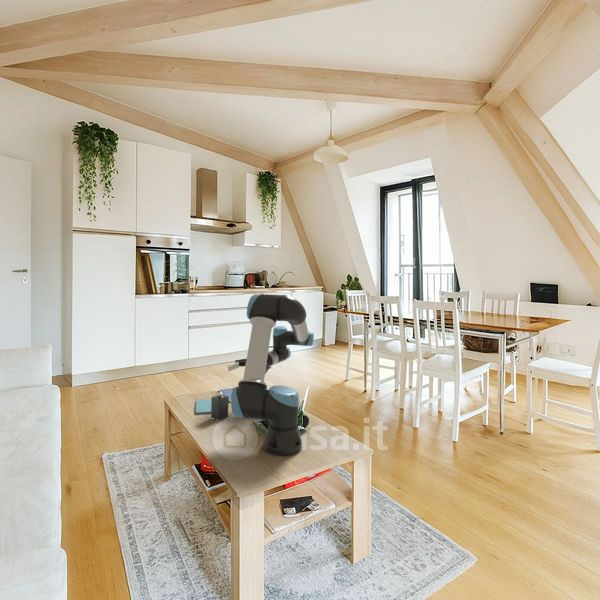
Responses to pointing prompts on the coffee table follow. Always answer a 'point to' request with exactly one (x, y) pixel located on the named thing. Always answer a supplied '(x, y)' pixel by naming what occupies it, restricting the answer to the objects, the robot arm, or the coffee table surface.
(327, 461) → the coffee table surface
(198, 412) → the teal cloth
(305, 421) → the end cap
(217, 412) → the lock block
